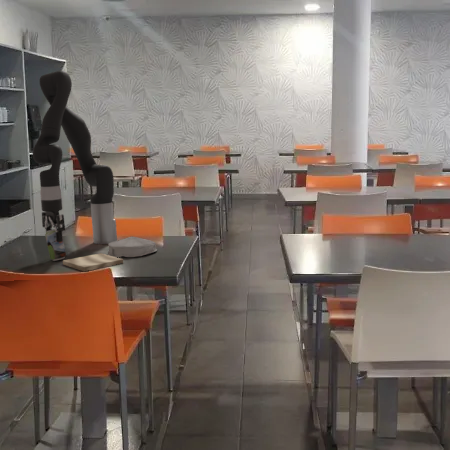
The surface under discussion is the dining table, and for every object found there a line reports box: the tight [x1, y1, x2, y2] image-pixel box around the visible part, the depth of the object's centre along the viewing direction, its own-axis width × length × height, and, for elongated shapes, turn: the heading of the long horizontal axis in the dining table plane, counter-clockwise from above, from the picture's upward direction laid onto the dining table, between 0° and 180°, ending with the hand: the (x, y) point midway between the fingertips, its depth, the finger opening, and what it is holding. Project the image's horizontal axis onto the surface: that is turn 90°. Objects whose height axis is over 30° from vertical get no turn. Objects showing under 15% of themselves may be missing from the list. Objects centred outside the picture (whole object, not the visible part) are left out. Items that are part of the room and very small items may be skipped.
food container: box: [107, 236, 158, 258], centre depth 251 cm, size 20×20×7 cm
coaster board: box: [62, 252, 124, 272], centre depth 233 cm, size 16×16×2 cm
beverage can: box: [44, 228, 67, 262], centre depth 241 cm, size 6×7×12 cm
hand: (54, 240), depth 241 cm, fingers open, 8 cm apart
